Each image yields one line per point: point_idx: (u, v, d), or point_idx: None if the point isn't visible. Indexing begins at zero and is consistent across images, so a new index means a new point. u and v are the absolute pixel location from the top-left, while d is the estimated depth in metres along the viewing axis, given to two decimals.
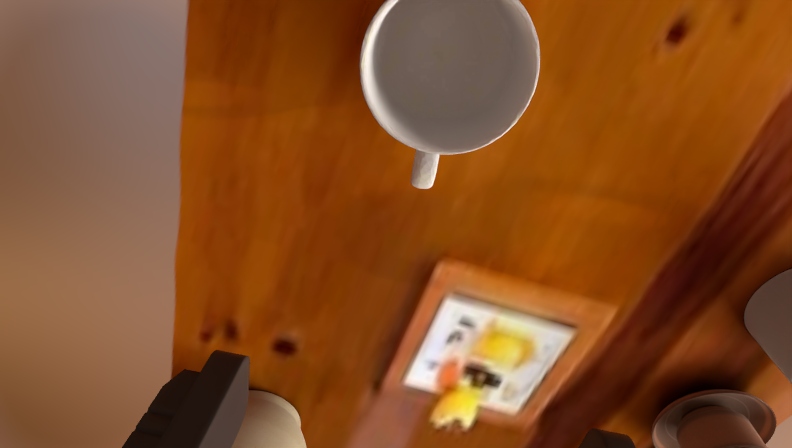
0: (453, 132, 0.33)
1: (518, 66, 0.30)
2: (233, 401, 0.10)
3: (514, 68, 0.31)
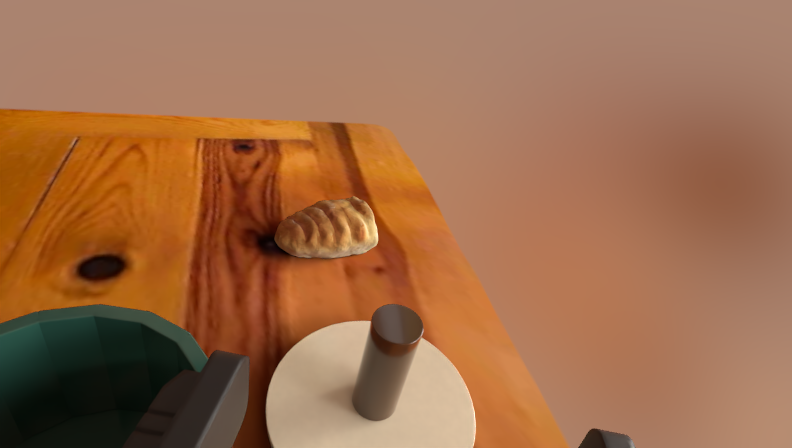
0: None
1: None
2: (233, 401, 0.10)
3: None
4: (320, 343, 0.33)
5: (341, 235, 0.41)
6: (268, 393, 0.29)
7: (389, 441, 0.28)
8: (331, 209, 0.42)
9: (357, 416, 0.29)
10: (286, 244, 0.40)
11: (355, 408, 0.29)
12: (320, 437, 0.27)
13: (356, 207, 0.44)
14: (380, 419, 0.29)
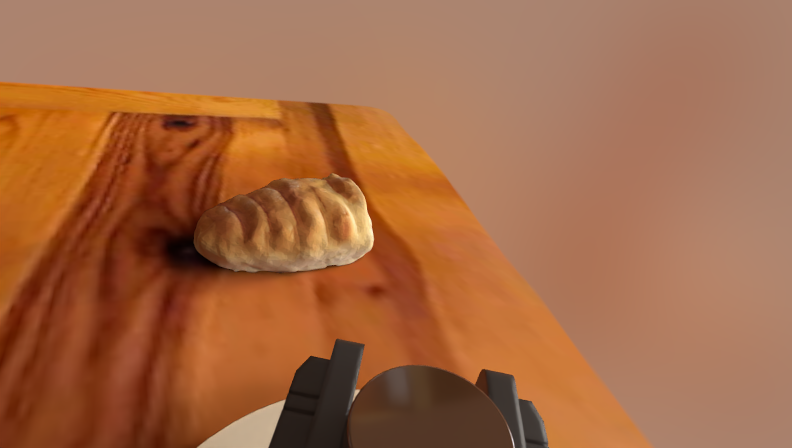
0: None
1: None
2: None
3: None
4: None
5: (308, 229, 0.23)
6: None
7: None
8: (292, 189, 0.25)
9: None
10: (208, 247, 0.22)
11: None
12: None
13: (336, 187, 0.26)
14: None
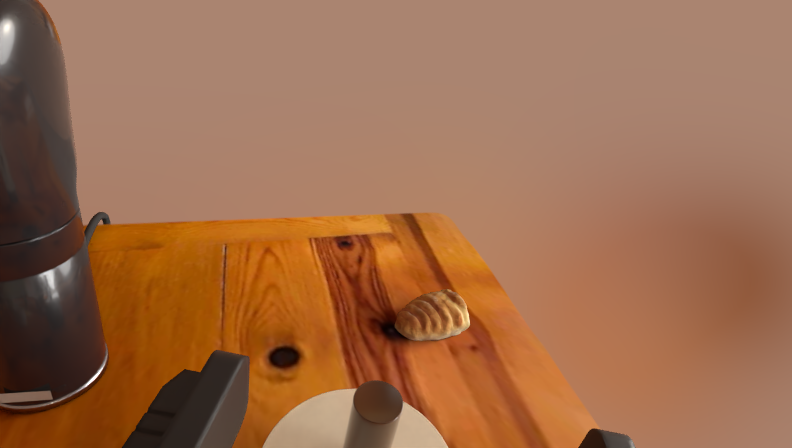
0: None
1: None
2: (233, 401, 0.10)
3: None
4: (308, 414, 0.34)
5: (446, 323, 0.55)
6: None
7: None
8: (435, 302, 0.56)
9: None
10: (407, 332, 0.54)
11: None
12: None
13: (452, 298, 0.58)
14: None
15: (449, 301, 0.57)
